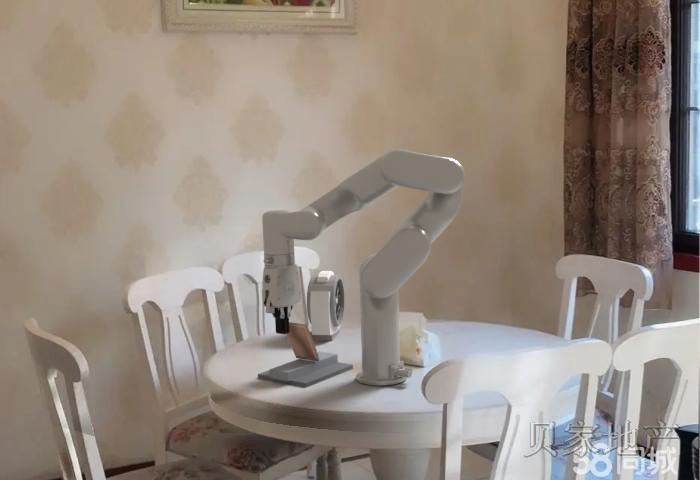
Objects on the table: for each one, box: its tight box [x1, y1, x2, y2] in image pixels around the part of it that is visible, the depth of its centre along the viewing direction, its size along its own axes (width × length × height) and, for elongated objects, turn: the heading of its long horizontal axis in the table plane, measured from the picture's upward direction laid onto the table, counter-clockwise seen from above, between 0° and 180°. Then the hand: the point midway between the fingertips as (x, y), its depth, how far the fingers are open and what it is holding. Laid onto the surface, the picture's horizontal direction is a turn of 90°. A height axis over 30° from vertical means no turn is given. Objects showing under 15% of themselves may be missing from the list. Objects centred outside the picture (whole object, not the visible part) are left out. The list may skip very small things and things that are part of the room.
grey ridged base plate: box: [257, 351, 354, 388], centre depth 217 cm, size 16×20×3 cm
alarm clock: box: [306, 270, 346, 342], centre depth 256 cm, size 18×8×20 cm, turn 168°
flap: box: [286, 321, 319, 361], centre depth 215 cm, size 7×11×1 cm
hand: (282, 333), depth 209 cm, fingers closed
